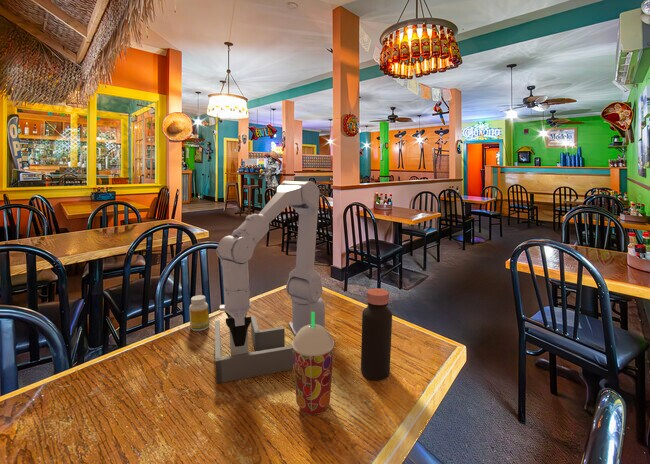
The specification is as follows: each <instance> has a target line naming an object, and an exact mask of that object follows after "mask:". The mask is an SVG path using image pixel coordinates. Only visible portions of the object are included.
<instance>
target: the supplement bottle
mask: <svg viewBox="0 0 650 464" xmlns="http://www.w3.org/2000/svg"><path fill="white" fill-rule="evenodd" d="M188 310H189V311H188V312H189V325H190V329H191V330H192V331H194V332H201V331H204V330H207V329H208V328H209V327H210V316H209V315H210V312H209V304H208V303H207V301H206V296H205V295H203V294H199V295H194V296H192V297H191V298H190V305H189V307H188Z"/></svg>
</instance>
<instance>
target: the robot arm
mask: <svg viewBox="0 0 650 464" xmlns="http://www.w3.org/2000/svg"><path fill="white" fill-rule="evenodd" d="M320 192H321V191H320V189H319V187H318V186H317V184H316V183H315V182H314V181H311V180H308V181H299V180H297V181H294V180H293V181H292V180H283V181H282V182H281V183H280V185H278V186H277V187H276V193H275V194H274V195H273V196H272V197H271V198H270V200H269V201H268V202H267V203H266V204H265V205H264V207H263V208H261V210H260V211H259V213H251V214H248V215H246V217H245V220H244V221H243V222H242V223H241V224H240V225H239V226H238V227H237V228H236V229H234V230H233V231H232V233H231V235H226V236H224V237H221V238H222V239H220V240H219V242H218V244H217V248H216V249H215V253H216V255H217V257H218V258H219V259H220V264H221V267H222V278H223V279H222V281H223V282H222V284H223V299H224V301H223V302H224V304H220V305H219V312H225V314H226V316H227V317H226V318H225V324H226V326H227V327H228V329H230V331H231V333H232V337H233V341H234V345H235V347H239V346H244V344H245V340H246V334H247V330H249V327H250V326H251V316H248V317H247V315H248V313H249V311H250V309H251V306H252V303H251V302H250V301H251V300H250V282H249V281H250V279H249V275H250V274H249V260H251V259H252V257H253V255H254V251H255V249H256V246H257V244H258V243H259V242H260V240H262V239H263V237H264V236H265V235H266V234H267V233H268V232H269V231H270V223H271V222H272V221H273V220H274V219H275V218H277V217H278V215H280V214H281V213H282V212H283V211H284V210H285V209H287V207H291V208H292V209H293V210H295V212H296V213H297V214H298V224H297V225H298V226H297V227H298V228H297V242H296V256H295V257H296V258H295V268H294V269H292V270H291V271H290V272H289V273H288V279H287V282H286V287H285V290H286V293H287V295H288V296H289V298H290V300H291V304H292V305H291V306H292V307H291V310H292V311H291V313H292V314H291V315H292V318H291V319H292V321H289V322H288V325H289V327H290V329H291V330H292V331H291V332H292V333H293V335H294V336H296V334H297V333H298V331H299V330H300V329H301V328H302V327H304V326H305V325H308V324H311V312H315V324H318V325H321V326H323V327H324V328H325V329H326V325H325V324H326V321H325V318H326V316H325V314H326V311H325V310H326V308H325V302H324V299H323V298H322V295H323V285H322V275H320V274H319V272H318V271H317V270H316V269H315V259H316V257H315V256H316V242H317V229H318V216H319V215H318V213H319V207H320V205H319V204H320V203H319V202H320ZM245 316H246V317H245ZM229 317H233V318H229ZM244 317H245V318H244Z"/></svg>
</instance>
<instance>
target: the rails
mask: <svg viewBox="0 0 650 464" xmlns="http://www.w3.org/2000/svg"><path fill="white" fill-rule="evenodd" d="M250 317H251V323H250V332H251V333H250V334H251V338H252V342H253V346H254V350H255V351H251V352H249V353H244V354H237V355H231V354H230V355H226V356H222V347H221V346H222V345H221V343H222V341H221V325H220V324H221V323H220V320H215V321H214V360H215V362H214V363H215V376H216V377H215V378H216V381H215V382H216V384H222V383H226V382H232V381H238V380H244V379H248V378H254V377H258V376H259V377H260V376H264V375H269V374H270V375H271V374H275V373H280V372H285V371H291V370H294V365H293V352H292V345H287V346H286V344H285V343H286V341H285V338H286V337H285V333H286V332H285V327H284V326H279V327H273V328H265V329H259V326H258V322H257V318H256V316H255V315H251V316H250Z"/></svg>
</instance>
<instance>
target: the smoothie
mask: <svg viewBox="0 0 650 464" xmlns="http://www.w3.org/2000/svg"><path fill="white" fill-rule="evenodd" d="M291 346H292V352H293V375H294V377H293V378H294V389H295V400H296V404H297V405H298V407H299V409H300V411H302V413H305V414H306V415H313V416H314V415H319V414H322V413H323V412H325V410H326V409H327V407H328V405H329V404H330V402H331V401H330V400H331V392H332V390H331V389H332V379H333V368H334V367H333V364H334V355H335V354H334V351H335V340H334V339H333V338H332V336H331V333H330V332H329V331H328V329H327V328H326V327H325V328H324V327H323V326H321V325H318V324H315V312H311V324H308V325H305V326H304V327H302V328H301V329H300V330H299V331H298V333H297V334H296V335H294V338H293V340H292V341H291Z"/></svg>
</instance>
